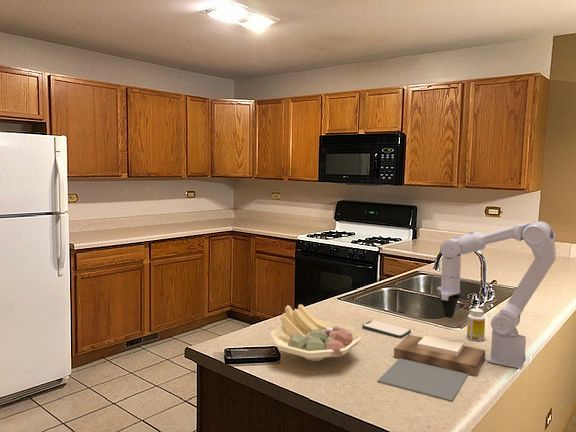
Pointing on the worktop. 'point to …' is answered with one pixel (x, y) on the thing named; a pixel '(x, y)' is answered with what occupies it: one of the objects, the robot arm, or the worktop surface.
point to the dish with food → (313, 335)
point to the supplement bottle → (476, 325)
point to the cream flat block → (440, 345)
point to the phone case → (386, 329)
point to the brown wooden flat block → (441, 356)
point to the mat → (424, 379)
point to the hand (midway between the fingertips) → (449, 316)
